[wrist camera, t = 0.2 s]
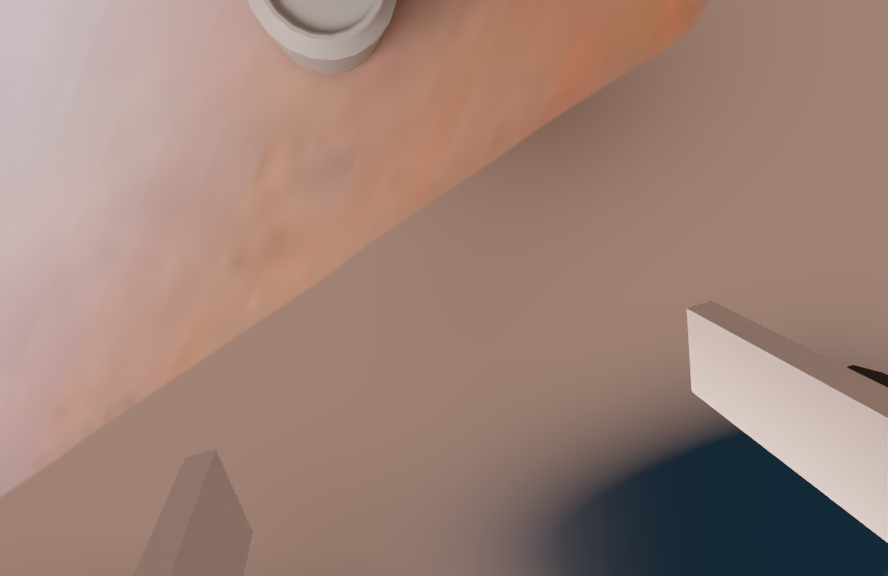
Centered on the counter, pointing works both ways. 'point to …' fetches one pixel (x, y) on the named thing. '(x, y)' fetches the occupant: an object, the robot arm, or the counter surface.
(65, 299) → the counter surface
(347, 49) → the can
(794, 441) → the robot arm
